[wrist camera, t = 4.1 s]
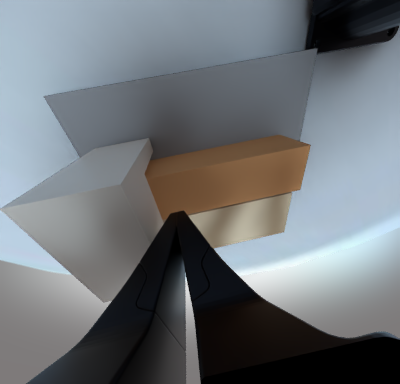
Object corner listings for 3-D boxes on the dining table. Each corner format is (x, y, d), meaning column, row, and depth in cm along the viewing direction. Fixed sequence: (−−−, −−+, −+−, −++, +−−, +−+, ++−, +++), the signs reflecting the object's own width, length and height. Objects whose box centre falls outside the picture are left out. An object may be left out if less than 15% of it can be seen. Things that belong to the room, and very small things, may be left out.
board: (306, 52, 11) (317, 48, 10) (277, 226, 21) (281, 232, 20) (54, 96, 10) (43, 96, 9) (145, 257, 20) (144, 264, 19)
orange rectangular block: (279, 134, 13) (310, 145, 10) (274, 171, 15) (300, 189, 12) (139, 162, 12) (128, 182, 9) (152, 197, 14) (147, 223, 11)
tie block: (148, 137, 11) (120, 184, 5) (172, 209, 15) (171, 286, 9) (94, 148, 11) (-1, 209, 5) (132, 218, 15) (103, 302, 9)
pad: (289, 190, 16) (292, 192, 16) (282, 229, 20) (284, 232, 19) (141, 223, 16) (141, 225, 15) (159, 258, 19) (158, 261, 19)
